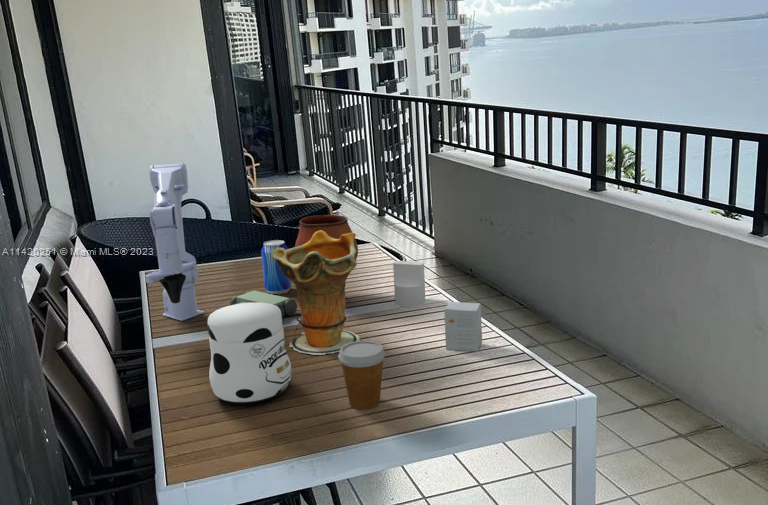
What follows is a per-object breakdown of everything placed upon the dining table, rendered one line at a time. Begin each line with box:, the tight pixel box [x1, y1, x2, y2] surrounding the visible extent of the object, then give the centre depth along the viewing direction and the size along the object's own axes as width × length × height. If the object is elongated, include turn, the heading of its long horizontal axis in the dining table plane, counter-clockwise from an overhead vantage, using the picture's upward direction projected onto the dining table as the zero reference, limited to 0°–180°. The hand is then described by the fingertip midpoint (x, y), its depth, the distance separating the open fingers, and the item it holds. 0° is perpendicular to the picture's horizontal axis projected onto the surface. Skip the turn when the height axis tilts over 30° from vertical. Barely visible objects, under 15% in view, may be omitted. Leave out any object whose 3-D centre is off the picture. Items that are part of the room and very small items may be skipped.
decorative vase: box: [272, 230, 361, 356], centre depth 171 cm, size 21×23×28 cm
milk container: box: [207, 302, 292, 405], centre depth 146 cm, size 17×17×18 cm
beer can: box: [260, 239, 292, 295], centre depth 216 cm, size 8×8×16 cm
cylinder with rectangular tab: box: [392, 260, 426, 308], centre depth 200 cm, size 9×9×12 cm
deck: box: [229, 290, 298, 319], centre depth 197 cm, size 18×14×4 cm
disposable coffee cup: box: [337, 340, 386, 411], centre depth 140 cm, size 10×10×12 cm
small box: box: [443, 301, 483, 353], centre depth 166 cm, size 8×6×10 cm
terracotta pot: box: [294, 214, 359, 262], centre depth 205 cm, size 19×19×25 cm
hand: (175, 302), depth 180 cm, fingers closed
